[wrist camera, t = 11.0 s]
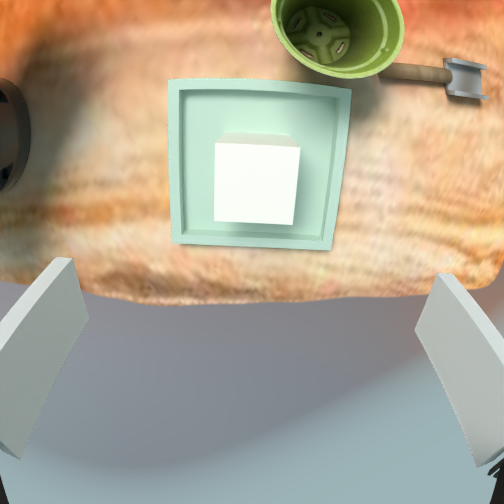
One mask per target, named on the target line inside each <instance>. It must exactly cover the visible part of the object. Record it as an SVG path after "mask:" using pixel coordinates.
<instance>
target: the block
mask: <svg viewBox="0 0 504 504" xmlns="http://www.w3.org/2000/svg"><path fill="white" fill-rule="evenodd" d="M299 157H300V147H299V145H298V144H297V143H296V142H295V141H294V140H293V138H292V137H291V136H290V135H280V134H265V133H245V132H224V133H223V134H222V135H221V136H220V138H219V139H218V140H217V141H216V143H215V175H214V221H223V222H246V223H267V224H285V225H293V217H294V208H295V198H296V188H297V178H298V168H299Z"/></svg>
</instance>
